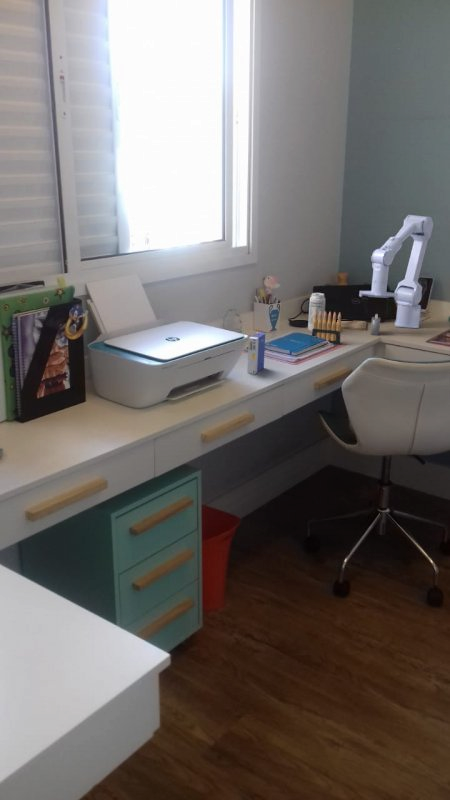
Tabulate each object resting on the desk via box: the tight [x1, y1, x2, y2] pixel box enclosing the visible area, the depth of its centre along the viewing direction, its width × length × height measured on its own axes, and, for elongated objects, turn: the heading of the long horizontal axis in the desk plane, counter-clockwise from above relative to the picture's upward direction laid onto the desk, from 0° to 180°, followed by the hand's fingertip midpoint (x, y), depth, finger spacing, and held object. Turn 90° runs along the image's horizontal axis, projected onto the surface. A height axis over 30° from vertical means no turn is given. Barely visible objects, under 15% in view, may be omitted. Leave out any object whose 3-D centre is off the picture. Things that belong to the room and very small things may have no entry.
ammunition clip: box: [311, 310, 342, 345], centre depth 272 cm, size 11×2×12 cm, turn 73°
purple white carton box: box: [246, 331, 266, 375], centre depth 237 cm, size 8×3×12 cm, turn 155°
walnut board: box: [336, 320, 367, 331], centre depth 299 cm, size 13×12×1 cm
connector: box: [370, 313, 381, 337], centre depth 287 cm, size 3×6×8 cm, turn 169°
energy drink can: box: [307, 292, 326, 334], centre depth 286 cm, size 6×6×15 cm
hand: (376, 315), depth 286 cm, fingers open, 7 cm apart
